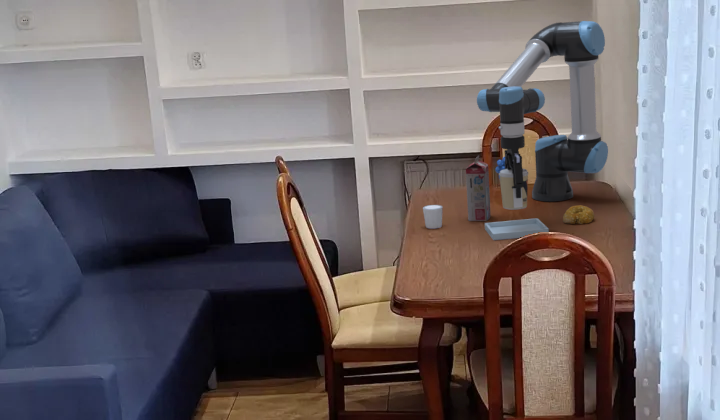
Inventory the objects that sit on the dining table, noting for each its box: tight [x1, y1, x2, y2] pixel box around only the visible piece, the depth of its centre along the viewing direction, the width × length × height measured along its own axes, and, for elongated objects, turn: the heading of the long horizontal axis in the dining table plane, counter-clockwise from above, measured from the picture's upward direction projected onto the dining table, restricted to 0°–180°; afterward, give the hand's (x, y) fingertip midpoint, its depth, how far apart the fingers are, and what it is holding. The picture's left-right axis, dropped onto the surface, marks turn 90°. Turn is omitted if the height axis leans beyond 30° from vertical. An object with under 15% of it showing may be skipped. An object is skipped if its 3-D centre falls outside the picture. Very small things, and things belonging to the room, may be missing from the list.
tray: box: [484, 218, 550, 241], centre depth 279 cm, size 18×14×2 cm
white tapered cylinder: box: [422, 204, 443, 230], centre depth 293 cm, size 7×7×7 cm
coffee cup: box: [498, 168, 529, 211], centre depth 275 cm, size 9×9×12 cm
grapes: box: [494, 156, 505, 180], centre depth 344 cm, size 12×7×12 cm, turn 57°
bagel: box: [562, 204, 595, 225], centre depth 285 cm, size 10×11×5 cm
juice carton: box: [465, 155, 491, 222], centre depth 297 cm, size 7×7×22 cm
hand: (514, 204), depth 276 cm, fingers closed on coffee cup, 8 cm apart
